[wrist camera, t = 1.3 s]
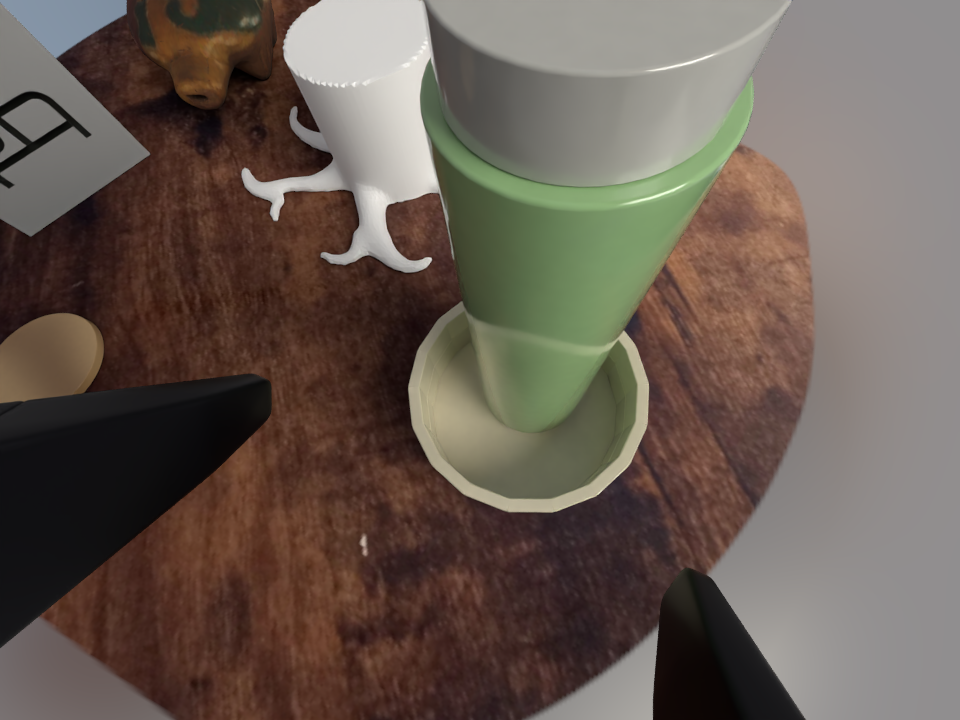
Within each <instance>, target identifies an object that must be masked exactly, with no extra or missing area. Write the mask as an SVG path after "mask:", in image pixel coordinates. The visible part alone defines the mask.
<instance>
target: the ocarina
mask: <svg viewBox="0 0 960 720" xmlns="http://www.w3.org/2000/svg"><path fill="white" fill-rule="evenodd" d="M127 18H128V24H129V28H130V31H131V34H132V36H133V38H134V40H135V42H136V44H137V45H138V47H139V48H140V50H141V51H142V52H143V53H144V55H146V56H147V57H148V58H149V59H150V60H151V61H153V62H154V63H156V64H157V65H159V66H160V67H162V68H164V69H166V70H168V71H169V72H170V74H171V76H172V79H173V82H174V86H175V90H176V92H177V94H178V95H179V96H180V97H181V98H182V99H183V100H184V101H186V102H187V103H189V104H191V105H193V106H195V107H197V108H200V109H205V110H210V109H218V108H220V107H221V106H222V105H223V103H224V102H225V99H226V95H227V89H228V84H229V79H230V76H231V73H232V71H233V69H234V68H235V67H236V68H238V69H240V70H242V71H243V72H245V73H247V74H249V75H251V76H253V77H256V78H258V79H261V80H264V79H267V78H268V77H269V76H270V75H271V69H272V56H273V46H274V45H275V43H276V40H277V33H276V27H275V21H274V12H273V9H272V4H271V0H127Z"/></svg>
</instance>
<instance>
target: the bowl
mask: <svg viewBox="0 0 960 720" xmlns="http://www.w3.org/2000/svg"><path fill="white" fill-rule="evenodd" d="M648 384H649V383H648V380H647V377H646V374H645V371H644V368H643V365H642V362H641V359H640V356H639V353H638V350H637V347H636V346H635V344H634V343H633V341H632V340H631V339H630V338H629V336H628V335H627V334H626V333H625V331H623V333H622V334H621V336H620V337H619V339H618V341H617V342H616V344H615V345H614V347H613V349H612V350H611V352H610V354H609V355H608V357H607V358H606V360H605V362H604V363H603V365H602V366H601V368H600V370H599V371H598V373H597V375H596V376H595V378H594V379H593V381H592V383H591V384H590V386H589V387H588V389H587V391H586V392H585V394H584V396H583V397H582V399H581V400H580V402H579V404H578V405H577V407H576V408H575V410H574V412H573V413H572V414H571V416H570V417H569V418H568V419H567V420H566V421H565V422H563V423H562V424H561V425H559V426H558V427H556V428H554V429H551V430H549V431H545V432H541V433H525V432H520V431H516V430H514V429H511V428H509V427H507V426H505V425H504V424H502V423H501V422H500V421H499V420H497V419H496V418H495V417H494V416H493V414H492V413H491V412H490V410H489V408H488V407H487V405H486V402H485V400H484V396H483V392H482V388H481V383H480V379H479V374H478V370H477V365H476V360H475V356H474V351H473V347H472V342H471V338H470V333H469V329H468V324H467V320H466V315H465V311H464V306H463V302H460V303H459V304H458V305H456V306H455V307H454V308H452V309H451V310H450V311H448V312H447V313H446V314H444V315H443V316H442V317H440V318H439V319H438V320H437V322H436V323H435V325H434V326H433V328H432V329H431V331H430V332H429V334H428V335H427V337H426V338H425V340H424V341H423V343H422V344H421V345H420V347H419V348H418V351H417V354H416V358H415V361H414V365H413V369H412V373H411V377H410V381H409V385H408V394H409V403H410V413H411V423H412V427H413V430H414V432H415V434H416V436H417V438H418V440H419V442H420V444H421V446H422V448H423V450H424V452H425V454H426V456H427V458H428V460H429V462H430V464H432V466H433V467H434V468H435V469H436V470H437V471H438V472H439V473H440V474H441V475H443V476H444V477H445V478H446V479H447V480H448V481H449V482H450V483H451V484H452V485H453V486H455V487H456V488H457V489H458V490H459V491H460V492H461V493H462V494H464V495H465V496H468V497H470V498H472V499H475V500H477V501H480V502H482V503H485V504H487V505H490V506H492V507H495V508H497V509H500V510H502V511H505V512H511V513H551V512H556V511H559V510H561V509H564V508H567V507H569V506H572V505H574V504H577V503H580V502H582V501H585V500H587V499H590V498H593V497H595V496H596V495H598V494H599V493H601V492H602V491H603V490H604V489H605V488H606V487H607V486H608V485H609V484H610V483H611V482H612V481H613V480H614V479H615V478H617V477H618V476H619V475H620V474H621V473H622V472H623V471H624V470H625V469H626V468H627V467H628V466H629V464H630V463H631V461H632V459H633V457H634V454H635V452H636V450H637V448H638V446H639V443H640V441H641V439H642V437H643V435H644V432H645V430H646V428H647V424H648V399H649V385H648Z"/></svg>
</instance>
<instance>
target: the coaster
mask: <svg viewBox="0 0 960 720" xmlns="http://www.w3.org/2000/svg"><path fill="white" fill-rule="evenodd" d="M103 354H104V342H103V338H102V335H101V333H100V331H99V329H98V328H97V327H96V326H95V325H94V324H93V323H92V322H90V321H89V320H87V319H84V318H82V317H80V316H78V315H74V314H68V313H57V314H51V315H47V316H43V317H40V318H38V319H35V320H33V321H31V322H29V323H27V324H26V325H24V326H22V327H21V328H19V329H18V330H16V331H15V332H14V333H13V334H11V335H10V336H9V337H8V338H7V339H6V340H5V341H4V342H3V343H2V344H1V345H0V403H5V402H14V401H23V402H25V401H27V400H32V399H40V398H48V397H57V396H65V395H74V394H82V393H84V392H85V391H86V390H87V388H88V387H89V386H90V385H91V383H92V382H93V380H94V378H95V377H96V375H97V373H98V371H99V368H100V366H101V363H102V359H103Z"/></svg>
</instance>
